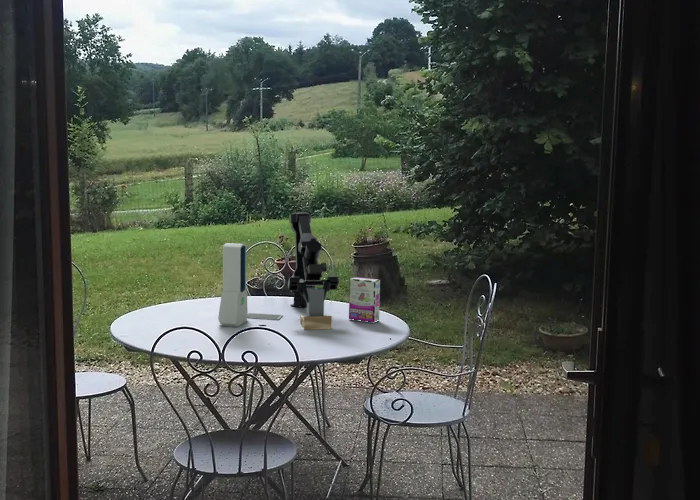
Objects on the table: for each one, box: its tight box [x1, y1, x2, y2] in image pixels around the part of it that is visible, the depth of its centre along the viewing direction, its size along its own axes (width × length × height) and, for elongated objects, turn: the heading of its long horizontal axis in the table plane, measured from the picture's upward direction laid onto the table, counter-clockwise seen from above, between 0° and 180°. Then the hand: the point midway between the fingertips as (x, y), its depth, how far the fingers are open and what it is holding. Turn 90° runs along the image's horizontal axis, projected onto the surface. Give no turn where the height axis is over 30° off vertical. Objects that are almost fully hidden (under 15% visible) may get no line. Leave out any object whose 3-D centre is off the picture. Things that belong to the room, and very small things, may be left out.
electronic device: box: [217, 242, 249, 328], centre depth 278 cm, size 12×8×30 cm, turn 168°
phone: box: [247, 312, 284, 321], centre depth 291 cm, size 7×14×1 cm, turn 81°
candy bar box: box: [348, 276, 381, 323], centre depth 288 cm, size 11×5×16 cm, turn 62°
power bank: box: [306, 286, 325, 316], centre depth 278 cm, size 5×6×12 cm
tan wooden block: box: [299, 314, 333, 331], centre depth 278 cm, size 10×10×5 cm
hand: (315, 302), depth 277 cm, fingers closed on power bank, 5 cm apart
